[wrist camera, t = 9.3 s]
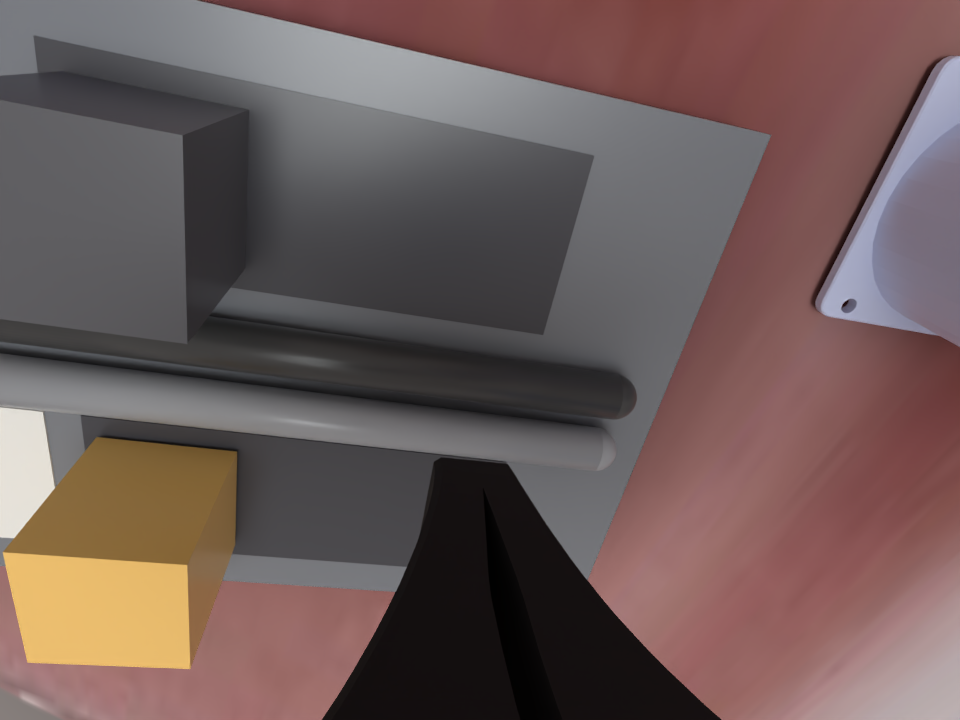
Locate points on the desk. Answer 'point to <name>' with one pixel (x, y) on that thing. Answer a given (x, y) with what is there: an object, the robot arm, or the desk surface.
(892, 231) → the robot arm
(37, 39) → the slider rail fixture
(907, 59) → the desk surface
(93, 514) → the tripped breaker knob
